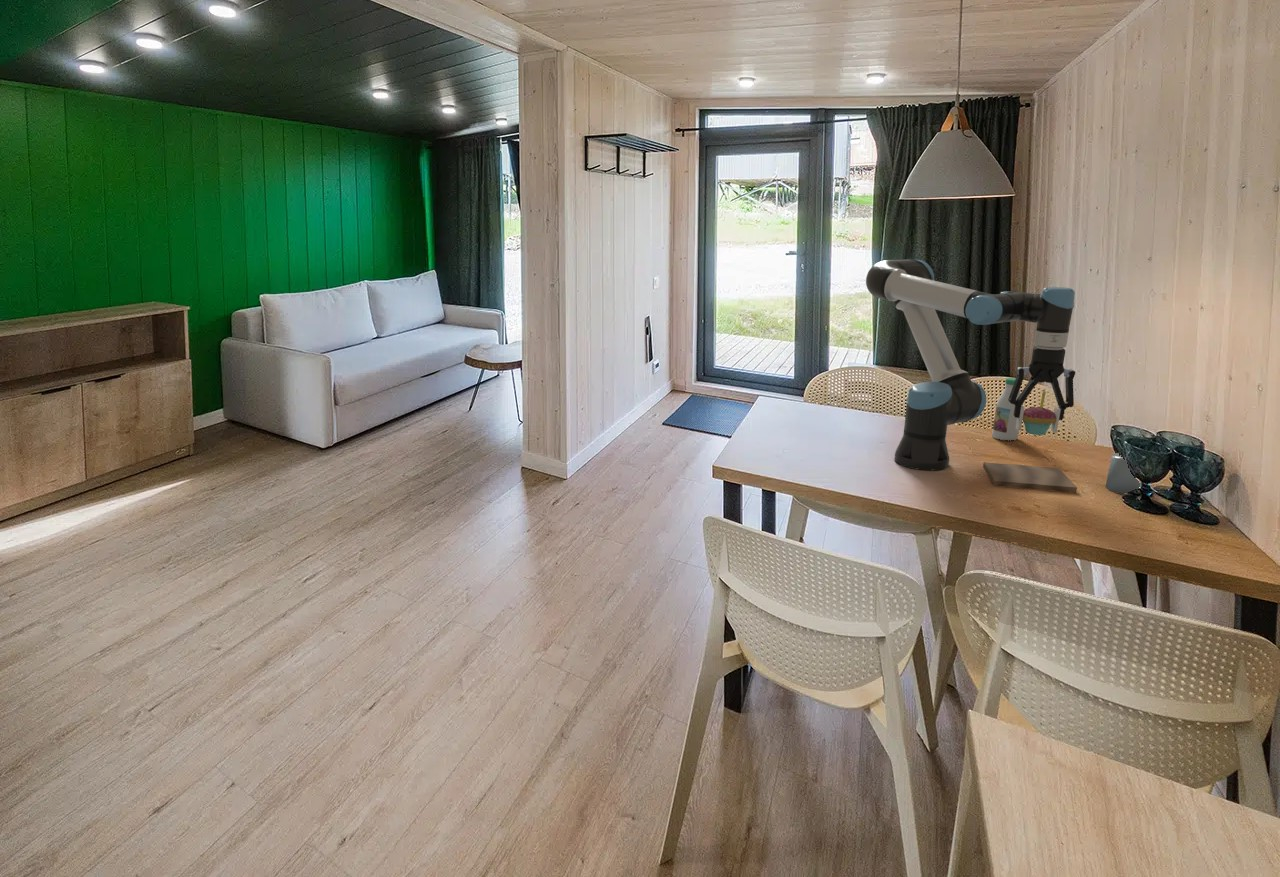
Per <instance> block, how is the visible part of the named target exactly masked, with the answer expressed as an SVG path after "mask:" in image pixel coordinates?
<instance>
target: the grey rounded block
mask: <svg viewBox="0 0 1280 877" xmlns="http://www.w3.org/2000/svg"><path fill="white" fill-rule="evenodd" d="M1119 453H1120V452H1116V453H1115V452H1114V453H1112V454H1111V457H1110V463H1109V467H1108V472H1107V478H1106V482H1105V489H1107V490H1108V491H1110V492H1114V493H1116V494H1120V495H1125V494H1124V493H1128V492H1130V491H1132V490H1135V489H1138V488H1139V487H1140V483H1139V481H1138V480H1137V479H1135V478H1134V476H1133V475H1132V474H1131V472H1130V469H1129V468H1128V464H1127V461H1126V460H1124V459H1123V457H1121V455H1120V456H1119Z"/></svg>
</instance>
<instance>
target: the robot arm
mask: <svg viewBox="0 0 1280 877" xmlns="http://www.w3.org/2000/svg"><path fill="white" fill-rule="evenodd" d="M865 285H866V289H867V290H868V292H869V293H870V294H871V295H872V296H873V297H875V298H877V299H881V300H886V301H889V302H893V304H894V306H895V308H896V309H897V310H900V311H902V312H903V314H904V317H905V319H906V321H907V324H908V326H909V328H910V331H911V333H912V336H913V338H914V340H915V342H916V343H915V344H917V345H916V346H917V347H918V348H917V349H918V350H919V352H920V355H921V358H922V360H923V362H924V364H925V367H926V369H927V373H928V374H929V376H930V377H929V378H930V379H931V381H929V382H927V381H925V382H924V381H923V382H918V383H916V384H913V385H912V386H911V387H910V388H909V390H908V393H907V397H906V407H905V416H904V427H903V434H902V437H901V440H900V441H899V444H898V445H897V446H896V447H897V448H896V450H895V452H894V461H895V462H896V463H897V464H899V466H900V465H901V466H904V467H907V468H910V469H915V470H922V471H940V470H943V469H944V470H945V469H946V468H948V467H949V465H950V455H949V450H948V446H947V441H946V440H947V439H946V438H947V430H948V426H949V425H953V424H958V423H959V424H960V423H967V422H969V421H971V420H972V421H973V420H975V419H976V418H978V417H979V416H981V414H982V413H983V412H984V410H985V407H986V405H987V394H986V391H985V389H984V388H983V386H982V385H981V384H980V383H977V382H976V381H973V380H972V378H971V376H970V374H969V371H966V370H964V369H961V367H960V365H959V363H958V360H957V358H956V356H955V353H954V351H953V349H952V346H951V344H950V341H949V339H948V337H947V335H946V332H945V330H944V327H943V325H942V322H941V321H940V318H939V316H938V313H937V311H940V312H944V313H946V314H947V313H948V314H951V315H955V316H958V317H962V318H966V319H967V320H969V322H970V323H972V324H974V325H978V326H980V325H983V326H987V325H993V324H1000V323H1009V322H1029V323H1036V330H1035V335H1034V341H1033V345H1035V346H1034V347H1033V348H1032V353H1031V360H1030V364H1029V365H1028V366H1025V367H1021V366H1018V367H1017V368H1016V375H1015V376H1016V377H1015V378H1016V379H1015V382H1014V385H1013V388H1012V390H1011V393H1010V396H1009V399H1008V401H1009V402H1010V403H1011V404H1014V405H1015V409H1014V417H1015V418H1017V421H1016V429H1017V430H1019V431H1021V430H1022V426H1023V425H1022V424H1023V414H1024V410H1025V406H1024V405H1022V404H1024V403H1025V401H1026V399H1027V398H1028V397H1029V395H1030V394H1031V393H1032V391H1033V389H1035V386H1037V385H1038V383H1048V384H1050V385H1051V387H1052V390H1053V393H1054V397H1055V400H1056V402H1057V406H1054V409H1053V413H1055V415H1056V418H1057V419H1056V422H1055V423H1052V424H1051V425H1050V426H1051V427H1050V431H1051V432H1053V433H1055V434H1056V433H1058V427H1059V422H1060V421H1063V420H1064V416H1065V410H1066V409H1067V408H1073V407H1074V406H1075V403H1074V400H1075V399H1074V378H1075V376H1076V371H1075V370H1074V369H1072V368H1069V369H1068V368H1065V367H1064V362H1065V357H1066V356H1065V355H1066V349H1065V348H1066V347H1067V344H1068V339H1069V338H1068V337H1069V332H1070V325H1071V321H1072V315H1073V309H1074V307H1075V305H1074V304H1075V295H1076V293H1075V290H1074V289H1073V288H1071V287H1061V286H1059V287H1058V286H1048V287H1044V288H1043V289H1042V291H1041V293H1031V292H1022V291H1021V292H1019V291H1016V290H1014V291H1010V290H1008V291H1007V290H1006V291H1001V292H1000V293H998V294H997V293H996V294H992V293H987V292H983V291H979V290H976V289H971V288H967V287H963V286H958V285H954V284H949V283H945V282H941V281H937V280H935V274H934V271H933V269H932V267H931V265H929V263H927V262H926V261H924V260H921V259H916V258H906V259H886V260H882V261H878V262H876V263H874V265H873V266H871V268H870V269H869V270H868V272H867V274H866V278H865ZM1028 372H1029V373H1030V375H1031V377H1030V378H1029V379H1028V382H1027V383H1026V385H1025V386H1024V388H1023V389H1022V391H1020V395H1019V397H1018V398H1017V395H1018V393H1019V390H1021V387H1022V384H1023V381H1024V379H1025V376H1027V373H1028ZM1061 375H1063V376H1064V377H1065V378H1064V381H1065V382H1064V384H1065V400H1064V397H1063V394H1062V391H1061V387H1060V382H1059V379H1058V378H1059V377H1061ZM1016 398H1017V400H1016Z"/></svg>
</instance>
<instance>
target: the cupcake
mask: <svg viewBox="0 0 1280 877" xmlns="http://www.w3.org/2000/svg"><path fill="white" fill-rule="evenodd" d="M1043 390H1044V391H1042V395H1041V399H1040V400H1041V401H1040V405H1039V406H1031V407H1027V409H1024V414H1023V420H1022V423H1023V425H1024V429H1025V432H1026V433H1027V434H1030V435H1035V436H1043V435H1044V436H1045V435H1046V433H1047V431H1048V429H1049V428H1051V427H1050V426H1052V423H1055V422H1056V419H1057V418H1056V415H1055V413H1054V411H1052V410H1050V409H1049V408H1045V407H1044V402H1045V396H1046V393H1047V392H1046V388H1044V389H1043Z"/></svg>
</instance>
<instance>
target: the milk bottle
mask: <svg viewBox="0 0 1280 877" xmlns="http://www.w3.org/2000/svg"><path fill="white" fill-rule="evenodd" d="M1015 379H1016V377H1007V378H1005V381H1004V382H1005V384H1004V385H1005V387H1004V390H1003V391H1002V393H1001V394H1000V396H999V398H998V400H997V402H996V407H995V412H994V419H993V425H992V433H991V436H992V438H994V439H996V440H999V439H1000V441H1005V440H1008V442H1012V441H1011V440H1014V441H1016V439H1017V440H1018V438H1019V432H1020V430H1017V429H1016V421H1017V418H1015V417H1014V409H1015V405H1014V404H1011V403H1010V402H1009V401H1008V399H1009V396H1010V393H1011V390H1012V388H1013V385H1014V382H1015ZM1020 390H1021V389H1020ZM1020 390H1019V393H1018V395H1017V398H1018V397H1019V395H1020V394H1021V391H1020ZM1017 398H1016V400H1017ZM1023 404H1024V403H1023ZM1023 404H1022V405H1023ZM1023 406H1024V405H1023ZM1009 440H1010V441H1009Z"/></svg>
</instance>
